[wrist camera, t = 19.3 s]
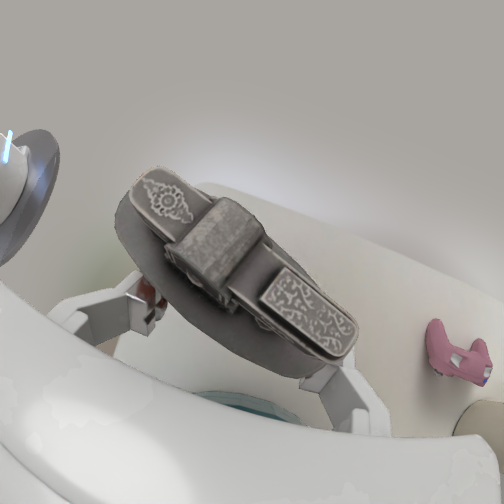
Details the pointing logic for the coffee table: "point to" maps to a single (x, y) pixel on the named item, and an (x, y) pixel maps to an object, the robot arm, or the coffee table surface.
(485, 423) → the travel mug
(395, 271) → the coffee table surface
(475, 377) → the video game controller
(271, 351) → the lighter
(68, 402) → the robot arm
